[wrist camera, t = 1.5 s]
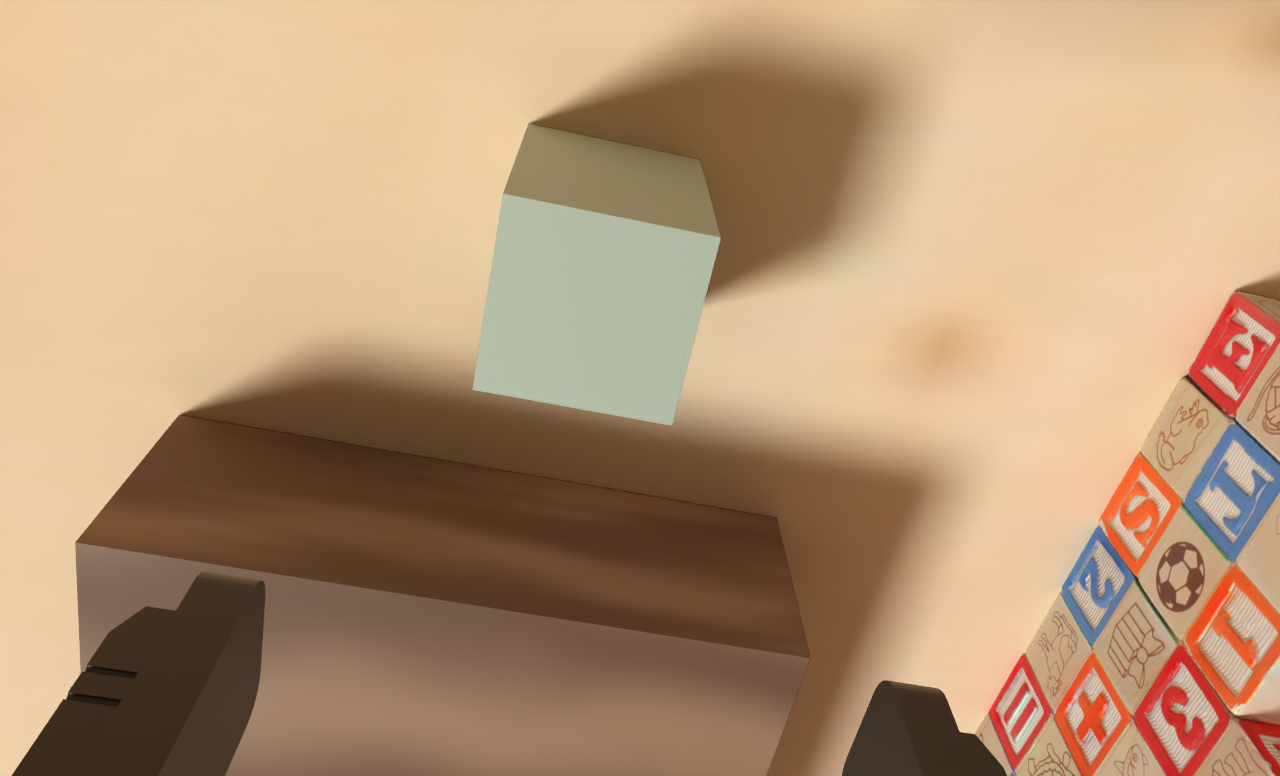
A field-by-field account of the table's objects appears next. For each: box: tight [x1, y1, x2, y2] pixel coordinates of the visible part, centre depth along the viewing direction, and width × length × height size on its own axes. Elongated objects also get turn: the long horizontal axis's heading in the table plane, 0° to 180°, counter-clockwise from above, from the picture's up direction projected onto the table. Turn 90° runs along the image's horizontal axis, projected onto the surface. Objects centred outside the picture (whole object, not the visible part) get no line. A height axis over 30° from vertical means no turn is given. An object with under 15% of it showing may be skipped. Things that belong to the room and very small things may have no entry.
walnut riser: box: [75, 415, 810, 776], centre depth 34 cm, size 16×20×7 cm
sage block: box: [472, 124, 721, 426], centre depth 27 cm, size 5×5×7 cm
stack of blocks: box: [975, 292, 1280, 776], centre depth 31 cm, size 21×6×12 cm, turn 165°
